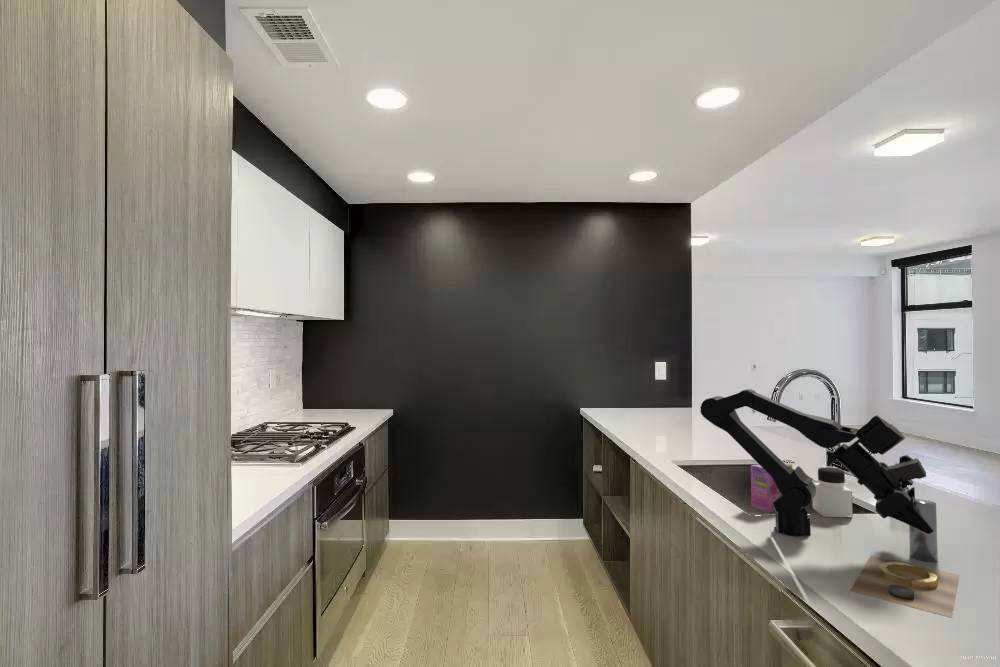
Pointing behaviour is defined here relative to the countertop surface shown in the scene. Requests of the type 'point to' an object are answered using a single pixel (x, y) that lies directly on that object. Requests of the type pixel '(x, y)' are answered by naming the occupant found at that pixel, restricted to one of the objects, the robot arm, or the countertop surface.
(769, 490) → the box
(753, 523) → the countertop surface
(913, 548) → the steel peg
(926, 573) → the brass ring
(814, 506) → the medicine bottle
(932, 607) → the board
